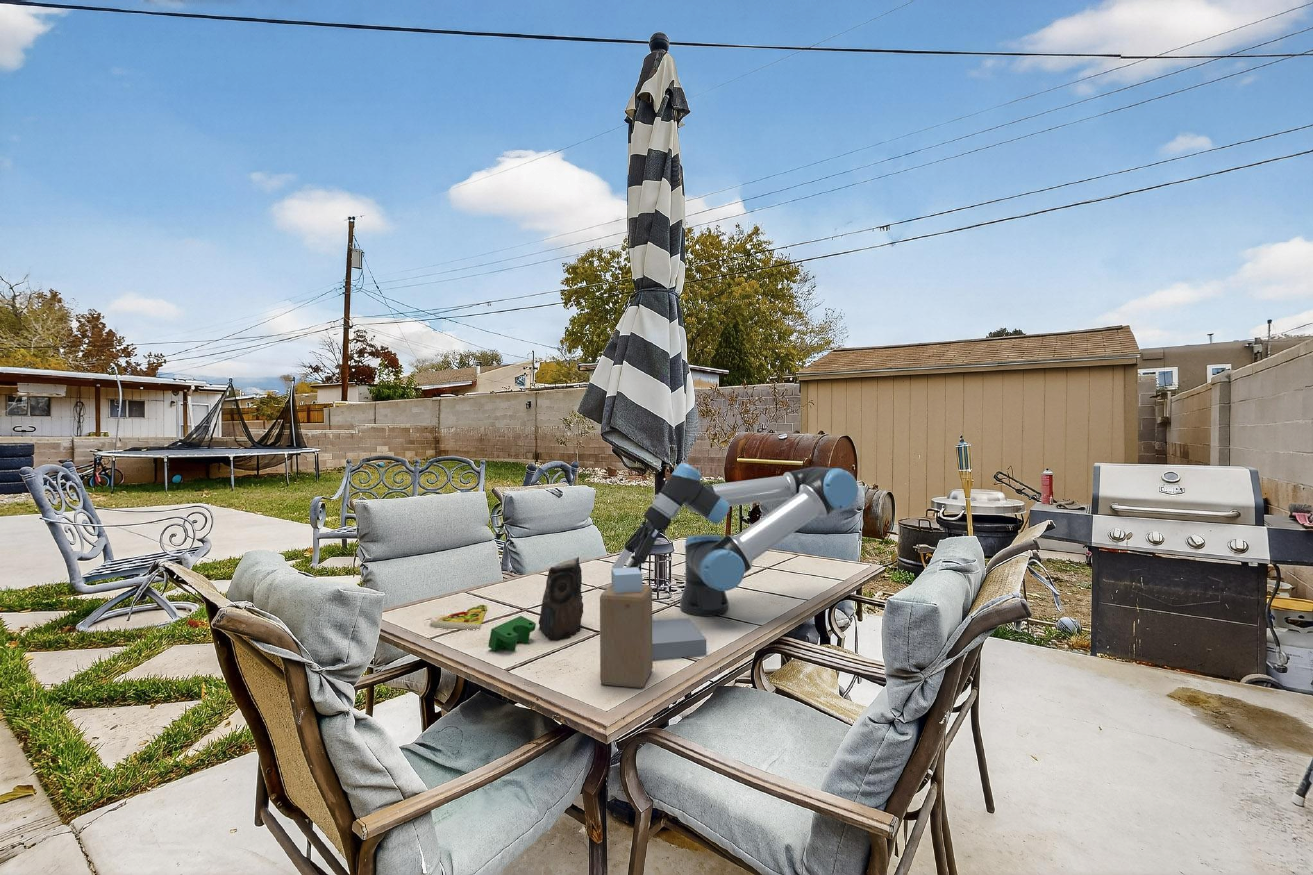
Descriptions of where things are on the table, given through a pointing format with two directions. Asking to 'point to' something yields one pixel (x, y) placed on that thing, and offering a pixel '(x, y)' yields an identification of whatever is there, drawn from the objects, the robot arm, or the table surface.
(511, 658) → the table surface
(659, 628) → the dock
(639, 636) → the wooden block
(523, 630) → the clamp
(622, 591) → the box
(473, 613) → the pizza slice
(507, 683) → the table surface
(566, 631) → the owl
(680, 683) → the table surface
